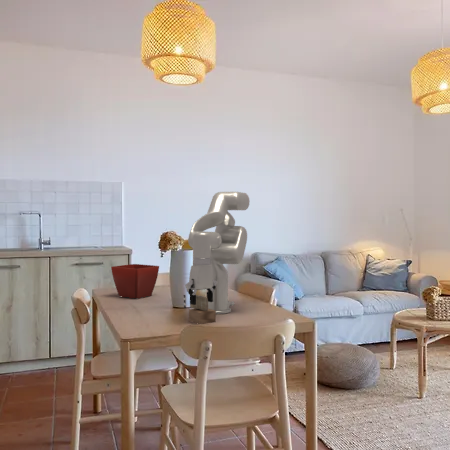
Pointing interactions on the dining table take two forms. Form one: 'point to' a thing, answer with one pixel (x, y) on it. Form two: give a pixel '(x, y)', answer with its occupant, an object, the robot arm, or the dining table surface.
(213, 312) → the tan box
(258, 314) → the dining table surface
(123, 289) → the plant pot
